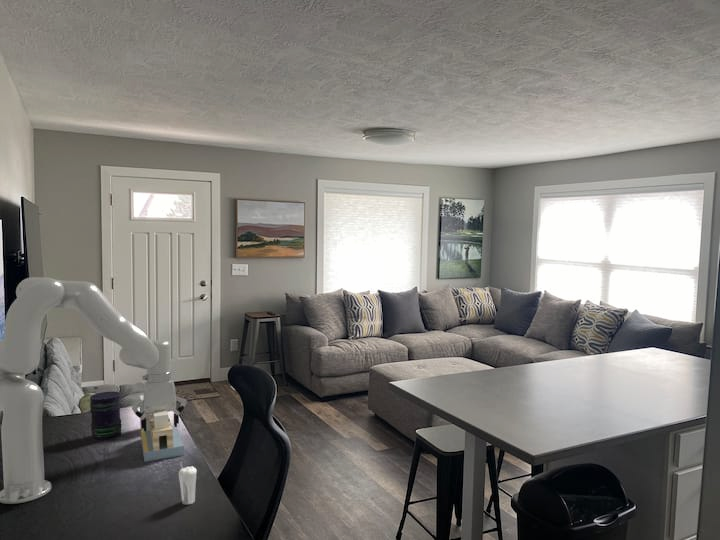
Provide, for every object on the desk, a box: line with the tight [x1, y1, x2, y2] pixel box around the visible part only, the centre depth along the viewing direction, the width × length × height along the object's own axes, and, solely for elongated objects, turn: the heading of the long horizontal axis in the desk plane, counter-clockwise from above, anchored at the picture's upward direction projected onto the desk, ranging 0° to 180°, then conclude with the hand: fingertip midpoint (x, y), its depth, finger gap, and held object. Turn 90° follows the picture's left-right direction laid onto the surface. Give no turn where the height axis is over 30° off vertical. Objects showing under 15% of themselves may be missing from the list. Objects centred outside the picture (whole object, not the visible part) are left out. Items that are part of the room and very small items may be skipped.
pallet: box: [149, 414, 173, 451], centre depth 183 cm, size 22×6×6 cm, turn 24°
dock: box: [140, 425, 185, 463], centre depth 183 cm, size 22×12×3 cm, turn 24°
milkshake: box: [178, 461, 198, 506], centre depth 143 cm, size 4×5×10 cm
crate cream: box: [153, 411, 169, 429], centre depth 177 cm, size 4×4×4 cm
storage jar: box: [89, 386, 122, 442], centre depth 194 cm, size 10×10×18 cm
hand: (160, 428), depth 183 cm, fingers open, 9 cm apart
